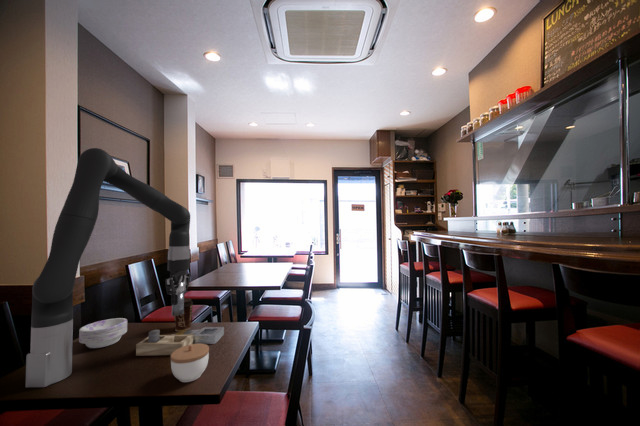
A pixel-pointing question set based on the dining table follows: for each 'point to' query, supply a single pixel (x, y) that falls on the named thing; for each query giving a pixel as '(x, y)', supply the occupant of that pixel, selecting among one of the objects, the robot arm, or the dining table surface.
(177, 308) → the grey metal cylinder
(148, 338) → the rack
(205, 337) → the socket block
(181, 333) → the white and yellow block
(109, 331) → the paper bowls
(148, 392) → the dining table surface
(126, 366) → the dining table surface
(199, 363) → the lidded jar
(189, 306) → the coffee cup
